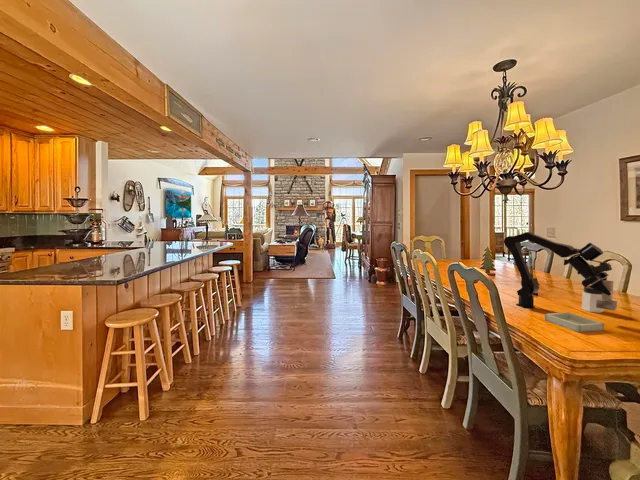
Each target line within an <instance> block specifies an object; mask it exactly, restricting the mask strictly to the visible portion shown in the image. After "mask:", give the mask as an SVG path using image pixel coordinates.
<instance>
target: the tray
mask: <svg viewBox="0 0 640 480" xmlns="http://www.w3.org/2000/svg"><path fill="white" fill-rule="evenodd" d="M544 321H545V322H549V323H552V324H554V325H556V326H559V327H563V328H565V329H568V330H570V331H573V332H576V333H588V332H591V333H592V332H602V331H604V330H605V323H604V322H600V321H597V320H594V319H592V318H591V319H590V318H587V317H583V316H582V315H581V316H580V315H577V314H574V313H571V312H556V313H555V312H554V313H553V312H552V313H545V314H544Z"/></svg>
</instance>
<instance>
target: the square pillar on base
mask: <svg viewBox="0 0 640 480" xmlns="http://www.w3.org/2000/svg"><path fill="white" fill-rule="evenodd" d="M603 284H604V285H605V287H606V288H607V289H608V290H609V292H610V293H611V295H606V294H604V293H602V299H598V300H597V302H596V308H601V309H604V310H608V311H613V312H614V311H615V310H616V309H617V306H618V300H613V295H614V281H613V280H608V279H607V280H604V281H603Z"/></svg>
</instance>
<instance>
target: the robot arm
mask: <svg viewBox="0 0 640 480" xmlns="http://www.w3.org/2000/svg"><path fill="white" fill-rule="evenodd" d="M525 241H528V242H531V243H534V244H536V245H538V246H541V247H543V248H546V249H548V250H550V251H551V252H553V253H554V254H556V255H557V256H558V257H560V258H567V259H563V266H567V265H569V266H571V267H572V268H573V269H574V270H575V271H577V272H576V274H578V275H580V276H581V277H583V280H582V281H581V285H582V286H583V288H584V287H587V286H589V287H591V288H593V289H595V290H598V291H600V292H602V293H604V294H606V295H611V293H610V292H609V290H608V289H607V288H606V287H605V285H604V284H603V281H604V280H607V281H608V276H609V274H608V273H607V272H609V271H612V270H613V268H612V265H611V264H610V263H608V262H606V261H602V262H600V264H599V265H596V266H595V265H593V264H590V263H588V261H590V262H593V261H594V260H595V259H597V258H598V257H601V256H602V255H603V254H604V251H603V250H602V249H601V248H600V247H598V246H596V245H595V244H593V242H589V243H587V244H586V245H585V246H584V247H582V248H581V249H580V248H575V247H573V245H569V244H566V243H565V244H564V243H559V242H554V241H552V240H550V239H547V238H546V237H542V236H540V235H539V234H538V235H537V234H534V233H533V232H531V231H528V232H527V231H526V232H524V233H519V234H517V235H509V236H506V237H505V238H504V239H503V245H504V246H505V248H506V249H507V250H508V251H509V252H510V253H511V255H512V258H513V260H514V262H515V265H516V267H517V270H518V273H519V275H520V278H521V279H520V285H521V288H520V289H518V290H517V291H516V294H517V296H518V303H515V305H516V306H519V307H522V308H525V309H528V308H529V309H530V308H536V305H534V301H535V299H534V296H533V295H535V294H536V293H537V292H538V291H539V289H540V283H539V281H538V278H537V277H533V276H532V275H531V273H530V269H529V267H528V264H527V263H526V261H525V257H524V256H523V255H524V254H523V252H522V243H523V242H525ZM574 255H576V256H574Z"/></svg>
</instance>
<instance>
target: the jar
mask: <svg viewBox="0 0 640 480" xmlns="http://www.w3.org/2000/svg"><path fill="white" fill-rule="evenodd" d="M589 286H590V285H588V286H587V287H584V286H583V291H582V298H581V300H582V301H581V309H582V310H583V311H585V312H589V313H597V314H602V313H604V311H605V309H601V308H596V302H597V300H598V299H602V292H600V291H598V290H595V289H593V288H591V287H589Z"/></svg>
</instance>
